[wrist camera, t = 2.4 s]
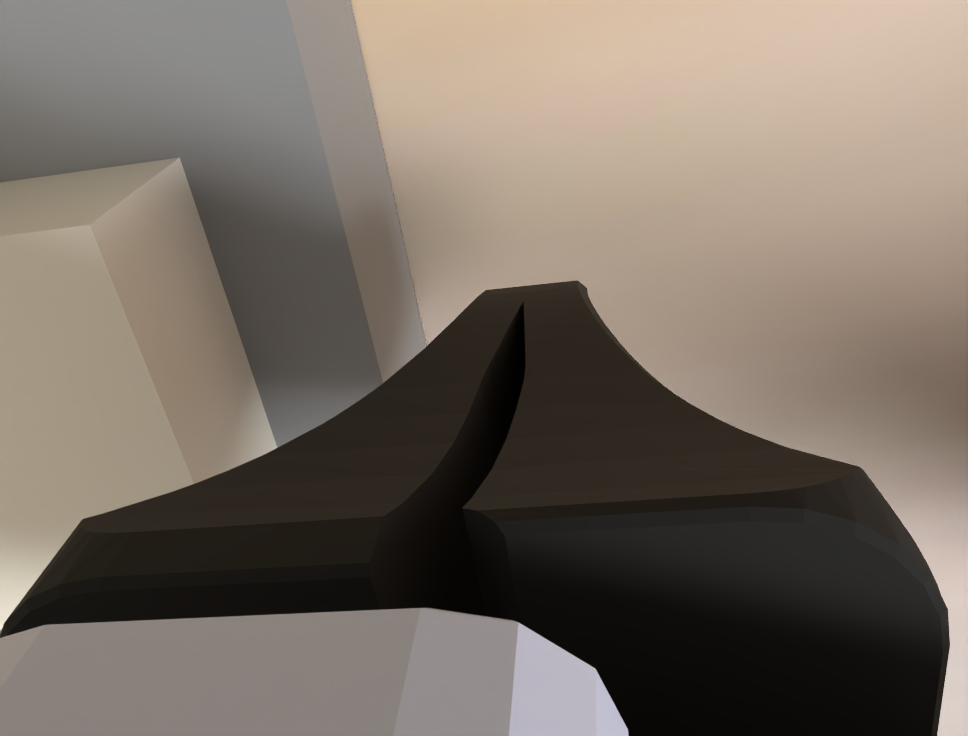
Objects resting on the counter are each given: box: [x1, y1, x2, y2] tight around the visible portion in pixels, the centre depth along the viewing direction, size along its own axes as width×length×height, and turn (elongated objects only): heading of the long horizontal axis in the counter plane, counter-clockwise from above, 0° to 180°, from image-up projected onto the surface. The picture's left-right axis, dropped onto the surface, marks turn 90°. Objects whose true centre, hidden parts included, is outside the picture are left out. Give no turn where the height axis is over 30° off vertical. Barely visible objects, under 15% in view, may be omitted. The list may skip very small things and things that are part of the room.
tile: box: [0, 157, 277, 630], centre depth 13 cm, size 6×6×2 cm
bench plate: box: [0, 0, 427, 634], centre depth 15 cm, size 12×10×3 cm
